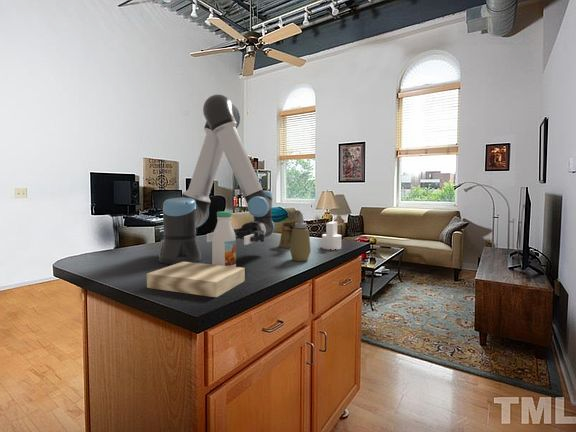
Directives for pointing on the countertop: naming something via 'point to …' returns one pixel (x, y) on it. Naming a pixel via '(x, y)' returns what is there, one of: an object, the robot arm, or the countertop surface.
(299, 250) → the squeeze bottle
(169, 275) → the board
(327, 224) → the white tiered cake
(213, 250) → the milk bottle
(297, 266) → the countertop surface
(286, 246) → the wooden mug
